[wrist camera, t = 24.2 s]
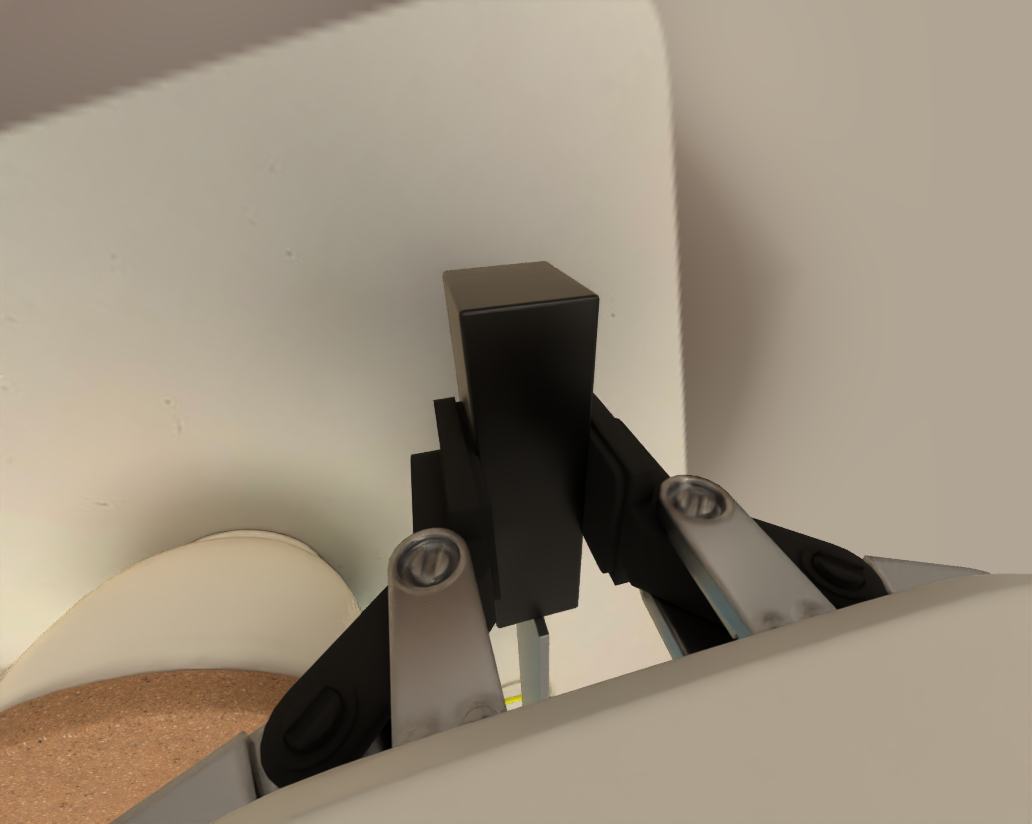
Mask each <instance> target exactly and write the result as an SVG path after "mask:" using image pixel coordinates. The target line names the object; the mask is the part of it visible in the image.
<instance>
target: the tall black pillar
mask: <svg viewBox="0 0 1032 824" xmlns="http://www.w3.org/2000/svg"><path fill="white" fill-rule="evenodd" d="M443 282H444V289H445V296H446V303H447V311H448V318H449V325H450V332H451V340H452V347H453V354H454V362H455V369H456V376H457V383H458V391H459V398H460V401H462V405H463V409H464V413H465V416H466V420H467V424H468V428H469V432H470V436H471V440H472V443H473V447H474V451H475V455H476V456H478V457H479V460H480V463H481V467H482V471H483V475H484V478H485V482H486V486H487V489H488V493H489V498H490V502H491V508H492V515H493V524H494V534H495V544H496V554H497V563H498V573H499V583H500V593H501V600H499V601H495V610H496V618H497V621H496V625H497V627H498V628H503V627H506V626H510V625H514V624H516V626H517V639H518V652H519V665H520V679H521V692H522V705H523V706H526V705H529V704H532V703H535V702H538V701H542V700H545V699H548V698H549V632H548V629H547V626H546V623H545V620H544V616H547V615H551V614H555V613H558V612H562V611H566V610H570V609H573V608H576V607H578V599H579V585H580V570H581V556H582V542H583V534H582V530H583V515H584V501H585V487H586V472H587V458H588V444H589V436H590V427H591V413H592V398H593V384H594V370H595V355H596V341H597V327H598V312H599V296H598V295H597V294H595V293H594V292H592V291H591V290H589V289H588V288H586V287H585V286H583V285H582V284H580V283H579V282H577V281H575V280H574V279H572V278H571V277H569V276H568V275H566V274H565V273H563V272H562V271H560V270H559V269H557V268H555V267H554V266H552V265H551V264H549V263H548V262H546V261H541V262H531V263H520V264H510V265H500V266H490V267H480V268H470V269H460V270H450V271H445V272H443Z"/></svg>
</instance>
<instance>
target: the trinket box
mask: <svg viewBox="0 0 1032 824" xmlns="http://www.w3.org/2000/svg"><path fill="white" fill-rule="evenodd" d="M360 614H361V613H360V611H359V608H358V606H357V603H356V601H355V598H354V596H353V593H352V592H351V590H350V589H349V588H348V586H347V585H346V583H345V582H344V581H343V579H342V578H341V577H340V575H339V574H338V573H337V572H336V571H335V570H334V569H332V568H331V567H330V566H329V565H328V564H327V563H326V562H324V561H323V560H322V559H321V558H320V556H319V555H318V554H317V553H316V552H315V551H314V550H313V549H312V548H310V547H309V546H307V545H306V544H304V543H303V542H301V541H298V540H296V539H294V538H292V537H289V536H285V535H282V534H278V533H273V532H268V531H259V530H238V531H228V532H222V533H217V534H213V535H210V536H207V537H203V538H201V539H199V540H197V541H194V542H192V543H190V544H187V545H183V546H180V547H177V548H174V549H170V550H167V551H164V552H161V553H159V554H156V555H154V556H152V557H150V558H147V559H145V560H143V561H141V562H139V563H137V564H135V565H133V566H131V567H129V568H127V569H125V570H123V571H121V572H120V573H118V574H117V575H115V576H114V577H112V578H110V579H109V580H107V581H106V582H104V583H103V584H101V585H100V586H99V587H97V588H96V589H94V590H93V591H91V592H90V593H88V594H87V595H85V596H84V597H83V598H82V599H80V600H79V601H78V602H77V603H76V604H75V605H74V606H73V607H71V608H70V609H69V610H68V611H67V612H66V613H65V614H64V615H62V616H61V617H60V618H59V619H58V620H57V621H56V622H55V623H54V624H52V625H51V626H50V627H49V628H48V629H47V630H46V631H45V632H44V633H43V634H42V635H41V636H40V637H39V638H38V639H37V640H36V641H35V642H34V643H33V644H32V645H31V646H30V647H29V648H28V649H27V650H26V651H25V652H24V653H23V654H22V655H21V656H20V657H19V658H18V660H17V661H16V662H15V663H14V664H13V665H12V666H11V667H10V668H9V669H8V670H7V671H6V673H5V674H4V675H3V676H2V677H1V679H0V824H109V823H110V822H111V821H113V820H114V819H116V818H117V817H119V816H120V815H122V814H123V813H125V812H126V811H127V810H129V809H130V808H132V807H133V806H135V805H136V804H138V803H139V802H141V801H142V800H143V799H145V798H146V797H148V796H149V795H151V794H152V793H154V792H155V791H157V790H158V789H159V788H161V787H162V786H164V785H165V784H167V783H168V782H170V781H171V780H173V779H174V778H175V777H177V776H178V775H180V774H181V773H183V772H184V771H186V770H187V769H188V768H190V767H191V766H193V765H194V764H196V763H197V762H199V761H200V760H202V759H203V758H204V757H206V756H207V755H209V754H210V753H212V752H213V751H215V750H216V749H218V748H219V747H220V746H222V745H223V744H225V743H226V742H228V741H229V740H231V739H232V738H234V737H235V736H236V735H238V734H239V733H241V732H242V731H245V732H246V733H247V734H248V735H249V734H251V733H252V732H254V731H255V730H256V729H258V728H259V727H261V726H262V725H264V724H265V723H266V722H267V721H268V719H269V717H270V715H271V713H272V711H273V709H274V708H275V707H276V705H277V704H278V703H279V701H280V700H281V699H282V698H283V696H284V695H285V694H286V692H287V691H288V690H289V689H290V688H291V687H292V686H293V685H294V684H295V683H296V682H297V681H298V680H299V679H300V678H301V677H302V676H303V674H304V673H305V672H306V671H307V670H308V669H309V668H310V667H311V666H312V665H313V664H314V663H315V662H316V661H317V660H318V659H319V658H320V656H321V655H322V654H323V653H324V652H325V651H326V650H327V649H328V648H329V647H330V646H331V645H332V644H333V643H334V642H335V641H336V640H337V639H338V637H339V636H340V635H341V634H342V633H343V632H344V631H345V630H346V629H347V628H348V627H349V626H350V625H351V624H352V623H353V622H354V621H355V619H356V618H357V617H358V616H359V615H360Z"/></svg>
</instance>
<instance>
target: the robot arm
mask: <svg viewBox="0 0 1032 824" xmlns="http://www.w3.org/2000/svg"><path fill="white" fill-rule="evenodd" d="M434 408H435V415H436V422H437V429H438V436H439V443H440V450H435V451H429V452H423V453H418V454H412V455H411V486H412V513H413V534H412V535H410V536H409V537H407V538H406V539H404V540H403V541H402V542H401V543H400V544H399V545H398V546H397V547H396V548H395V550H394V552H393V554H392V555H391V557H390V559H389V565H388V586H387V587H386V588H385V589H384V590H383V591H382V592H381V593H380V594H379V595H378V596H377V597H376V598H375V599H374V600H373V601H372V603H371V604H370V605H369V606H368V607H367V608H366V609H365V610H364V611H363V612H362V613H361V614H360V615H359V616H358V617H357V618H356V619H355V621H354V622H353V623H352V624H351V625H350V626H349V627H348V628H347V629H346V630H345V631H344V632H343V633H342V634H341V635H340V636H339V637H338V639H337V640H336V641H335V642H334V643H333V644H332V645H331V646H330V647H329V648H328V649H327V650H326V651H325V652H324V653H323V654H322V655H321V656H320V658H319V659H318V660H317V661H316V662H315V663H314V664H313V665H312V666H311V667H310V668H309V669H308V670H307V671H306V672H305V673H304V674H303V676H302V677H301V678H300V679H299V680H298V681H297V682H296V683H295V684H294V685H293V686H292V687H291V688H290V689H289V690H288V691H287V692H286V694H285V695H284V696H283V698H282V699H281V700H280V701H279V703H278V704H277V705H276V707H275V708H274V709H273V711H272V713H271V715H270V717H269V719H268V721H267V722H266V723H265V724H264V725H262V726H261V727H259V728H258V729H256V730H255V731H254V732H252V733H251V734H249V735H248V734H247V733H246V732H245V731H242V732H241V733H239V734H238V735H236V736H235V737H234V738H232V739H231V740H229V741H228V742H226V743H225V744H223V745H222V746H220V747H219V748H218V749H216V750H215V751H213V752H212V753H210V754H209V755H207V756H206V757H204V758H203V759H202V760H200V761H199V762H197V763H196V764H194V765H193V766H191V767H190V768H188V769H187V770H186V771H184V772H183V773H181V774H180V775H178V776H177V777H175V778H174V779H173V780H171V781H170V782H168V783H167V784H165V785H164V786H162V787H161V788H159V789H158V790H157V791H155V792H154V793H152V794H151V795H149V796H148V797H146V798H145V799H143V800H142V801H141V802H139V803H138V804H136V805H135V806H133V807H132V808H130V809H129V810H127V811H126V812H125V813H123V814H122V815H120V816H119V817H117V818H116V819H114V820H113V821H111V822H110V823H109V824H1032V574H990V573H988V572H985V571H981V570H976V569H972V568H966V567H958V566H949V565H940V564H933V563H924V562H916V561H908V560H899V559H891V558H883V557H874V556H864V558H863V559H861V558H860V557H858V556H856V555H855V554H853V553H851V552H850V551H848V550H846V549H844V548H841V547H839V546H836V545H834V544H831V543H828V542H825V541H822V540H819V539H816V538H813V537H810V536H807V535H804V534H801V533H798V532H795V531H791V530H788V529H785V528H782V527H779V526H776V525H773V524H770V523H767V522H764V521H761V520H758V519H755V518H752V517H750V516H749V515H748V514H747V513H746V512H745V510H744V509H743V508H742V507H741V506H740V505H739V504H738V503H737V502H736V501H735V500H734V499H733V498H732V496H731V495H730V494H729V493H728V492H727V491H726V490H724V489H723V488H722V487H721V486H720V485H718V484H716V483H714V482H712V481H710V480H708V479H705V478H702V477H699V476H693V475H676V476H673V477H670V476H669V475H668V474H667V473H666V472H665V471H664V469H663V468H662V467H661V466H660V465H659V464H658V463H657V461H656V460H655V459H654V458H653V457H652V456H651V454H650V453H649V452H648V451H647V450H646V449H645V447H644V446H643V445H642V444H641V443H640V442H639V441H638V439H637V438H636V437H635V436H634V435H633V434H632V432H631V431H630V430H629V429H628V428H627V427H626V425H625V424H624V423H623V422H622V421H621V420H620V419H617V418H614V416H613V415H612V414H611V413H610V412H609V411H608V409H607V408H606V407H605V406H604V405H603V403H602V402H601V401H600V400H599V399H598V398H597V396H596V395H595V394H594V393H593V398H592V413H591V427H590V436H589V444H588V458H587V472H586V487H585V501H584V515H583V530H582V534H583V536H584V538H585V540H586V542H587V544H588V547H589V549H590V551H591V553H592V555H593V557H594V559H595V561H596V563H597V565H598V567H599V569H600V570H601V572H602V573H609V575H610V576H611V578H612V580H613V582H614V584H615V586H616V585H620V584H623V583H627V582H630V584H631V585H632V586H634V587H636V588H639V589H640V590H639V591H640V594H641V597H642V600H643V602H644V604H645V606H646V608H647V610H648V612H649V614H650V616H651V618H652V620H653V621H654V623H655V625H656V627H657V629H658V631H659V633H660V635H661V637H662V639H663V641H664V643H665V645H666V647H667V649H668V651H669V653H670V655H671V657H672V659H673V660H670V661H667V662H664V663H661V664H657V665H654V666H651V667H648V668H645V669H641V670H638V671H635V672H632V673H628V674H625V675H622V676H619V677H615V678H612V679H609V680H606V681H602V682H599V683H596V684H593V685H589V686H586V687H583V688H580V689H577V690H574V691H570V692H567V693H564V694H561V695H558V696H554V697H551V698H548V699H545V700H542V701H538V702H535V703H532V704H529V705H526V706H522V707H519V708H516V709H513V710H510V711H507V708H506V704H505V700H504V696H503V692H502V687H501V683H500V679H499V675H498V671H497V666H496V662H495V658H494V654H493V649H492V645H491V641H490V637H489V632H490V631H491V629H492V628H493V626H494V624H495V623H496V621H497V618H496V610H495V601H499V600H501V593H500V583H499V573H498V563H497V554H496V544H495V534H494V524H493V515H492V508H491V502H490V498H489V493H488V489H487V486H486V482H485V478H484V475H483V471H482V467H481V463H480V460H479V457H478V456H476V455H475V451H474V447H473V443H472V440H471V436H470V432H469V428H468V424H467V420H466V416H465V413H464V409H463V405H462V401H460V402H456V401H455V397H450V398H444V399H437V400H434Z"/></svg>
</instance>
